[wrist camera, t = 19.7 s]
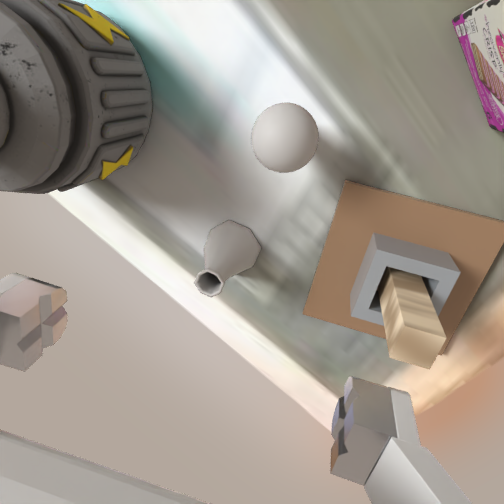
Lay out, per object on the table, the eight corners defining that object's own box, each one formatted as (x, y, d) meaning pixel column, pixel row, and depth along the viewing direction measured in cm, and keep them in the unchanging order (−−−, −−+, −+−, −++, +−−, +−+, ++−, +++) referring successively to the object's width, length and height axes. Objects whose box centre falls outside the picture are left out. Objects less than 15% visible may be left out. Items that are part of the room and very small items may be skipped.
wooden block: (386, 257, 45) (404, 325, 33) (417, 265, 45) (446, 338, 32) (376, 283, 47) (389, 357, 34) (405, 291, 46) (429, 369, 34)
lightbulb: (276, 163, 44) (257, 187, 35) (259, 109, 43) (234, 119, 33) (328, 147, 43) (324, 167, 33) (313, 90, 41) (305, 93, 31)
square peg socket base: (345, 179, 44) (345, 193, 38) (509, 222, 42) (533, 243, 36) (303, 310, 51) (298, 336, 46) (439, 350, 50) (451, 383, 44)
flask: (271, 246, 49) (256, 284, 40) (236, 282, 52) (215, 324, 43) (227, 209, 48) (201, 238, 39) (195, 247, 51) (164, 283, 42)
